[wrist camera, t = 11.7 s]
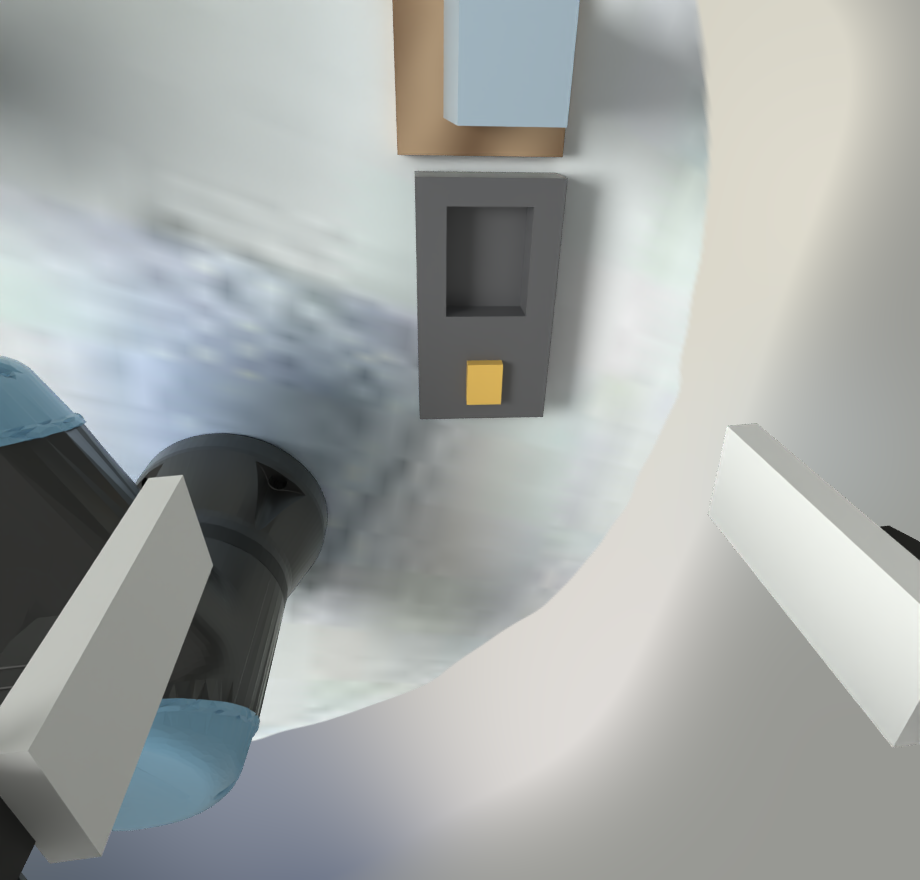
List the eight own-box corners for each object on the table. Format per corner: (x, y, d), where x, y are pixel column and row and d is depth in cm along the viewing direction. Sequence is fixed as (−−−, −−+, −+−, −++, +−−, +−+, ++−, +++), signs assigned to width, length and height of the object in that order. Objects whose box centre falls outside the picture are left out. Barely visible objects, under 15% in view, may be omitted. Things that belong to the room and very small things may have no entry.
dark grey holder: (419, 400, 44) (419, 424, 41) (414, 171, 36) (414, 178, 33) (535, 398, 45) (544, 421, 41) (556, 172, 37) (570, 180, 33)
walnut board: (398, 153, 35) (397, 154, 34) (390, -59, 30) (390, -65, 29) (558, 155, 36) (562, 156, 35) (577, -51, 31) (583, -57, 30)
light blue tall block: (443, 117, 34) (457, 125, 23) (443, -12, 30) (460, -70, 20) (519, 119, 34) (566, 127, 24) (527, -10, 31) (586, -64, 20)
